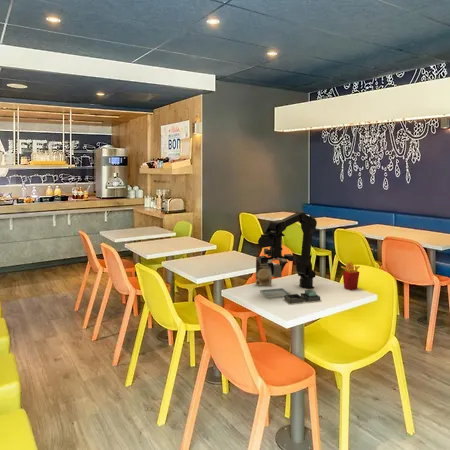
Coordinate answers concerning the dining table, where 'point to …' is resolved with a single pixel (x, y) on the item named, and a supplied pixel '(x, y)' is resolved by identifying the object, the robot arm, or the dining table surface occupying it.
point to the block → (276, 270)
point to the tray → (274, 293)
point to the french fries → (350, 276)
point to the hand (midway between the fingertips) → (276, 274)
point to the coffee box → (263, 274)
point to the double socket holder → (302, 298)
